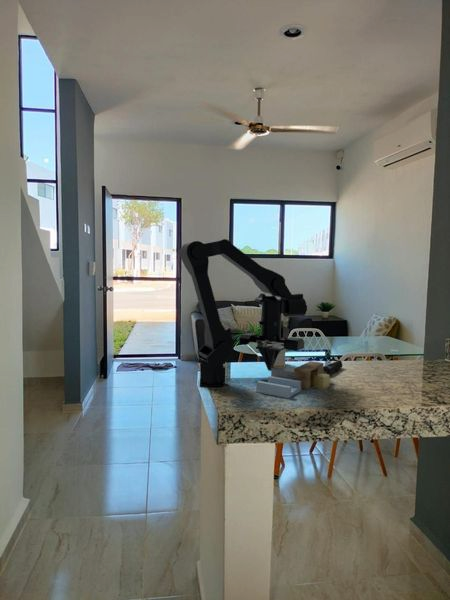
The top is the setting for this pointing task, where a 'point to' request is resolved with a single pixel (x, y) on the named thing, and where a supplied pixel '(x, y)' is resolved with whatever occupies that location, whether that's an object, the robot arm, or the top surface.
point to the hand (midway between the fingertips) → (270, 370)
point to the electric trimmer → (332, 367)
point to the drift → (282, 372)
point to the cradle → (279, 387)
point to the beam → (307, 373)
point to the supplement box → (280, 358)
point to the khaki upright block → (319, 380)
